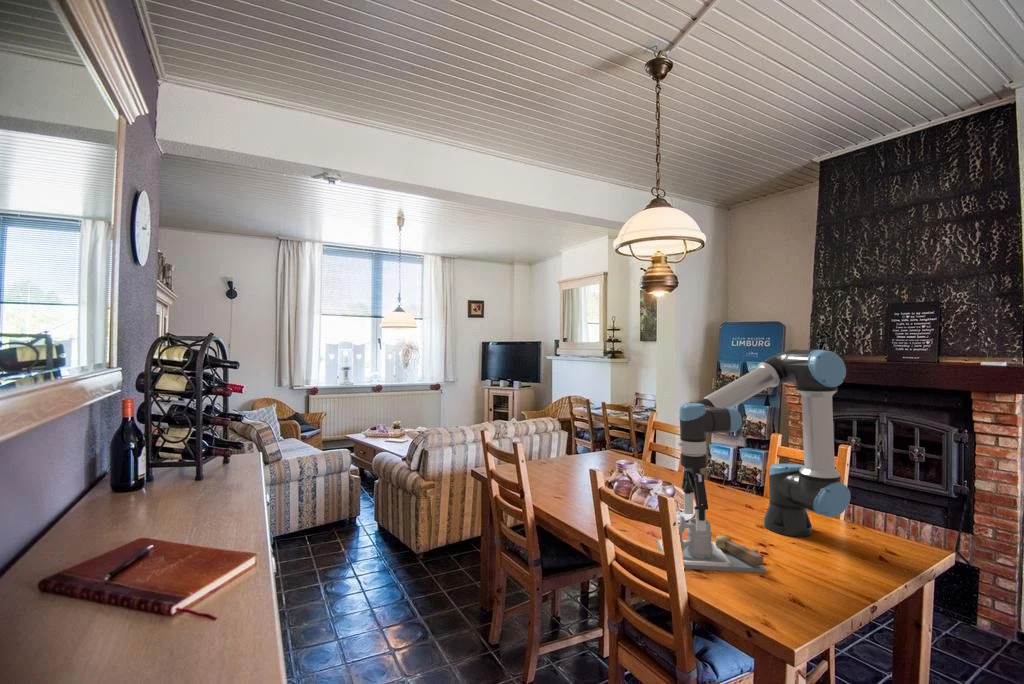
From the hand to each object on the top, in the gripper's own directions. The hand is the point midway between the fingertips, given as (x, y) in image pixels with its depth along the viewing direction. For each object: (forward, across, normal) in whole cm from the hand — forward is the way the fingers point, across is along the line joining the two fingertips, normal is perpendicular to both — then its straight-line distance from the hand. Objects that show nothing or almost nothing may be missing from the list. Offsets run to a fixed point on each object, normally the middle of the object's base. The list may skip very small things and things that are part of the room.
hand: (694, 521), depth 150 cm
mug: (+10, +1, -1) cm, 10 cm away
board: (+11, 0, +4) cm, 12 cm away
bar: (+9, +2, +12) cm, 15 cm away
